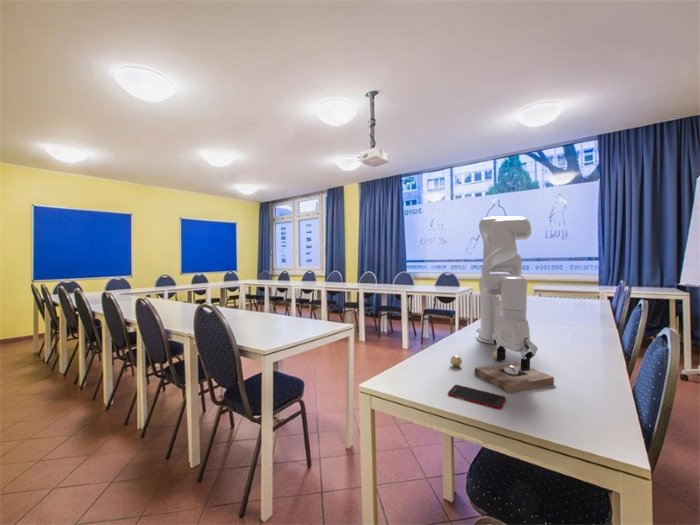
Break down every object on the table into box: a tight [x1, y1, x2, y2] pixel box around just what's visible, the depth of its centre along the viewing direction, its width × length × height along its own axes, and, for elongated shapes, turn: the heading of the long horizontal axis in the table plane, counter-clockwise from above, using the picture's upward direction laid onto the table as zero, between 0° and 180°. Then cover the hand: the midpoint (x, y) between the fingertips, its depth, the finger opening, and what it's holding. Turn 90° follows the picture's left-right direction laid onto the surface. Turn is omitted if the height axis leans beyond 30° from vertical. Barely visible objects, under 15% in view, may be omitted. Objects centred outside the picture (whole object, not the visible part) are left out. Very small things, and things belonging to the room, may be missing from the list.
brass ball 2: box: [493, 349, 497, 361], centre depth 121 cm, size 4×4×4 cm
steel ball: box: [504, 365, 519, 377], centre depth 103 cm, size 4×4×4 cm
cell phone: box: [447, 384, 507, 410], centre depth 90 cm, size 8×15×1 cm, turn 54°
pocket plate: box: [474, 361, 555, 394], centre depth 102 cm, size 15×18×2 cm
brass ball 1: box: [450, 355, 463, 368], centre depth 114 cm, size 4×4×4 cm
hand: (512, 365), depth 102 cm, fingers open, 9 cm apart
